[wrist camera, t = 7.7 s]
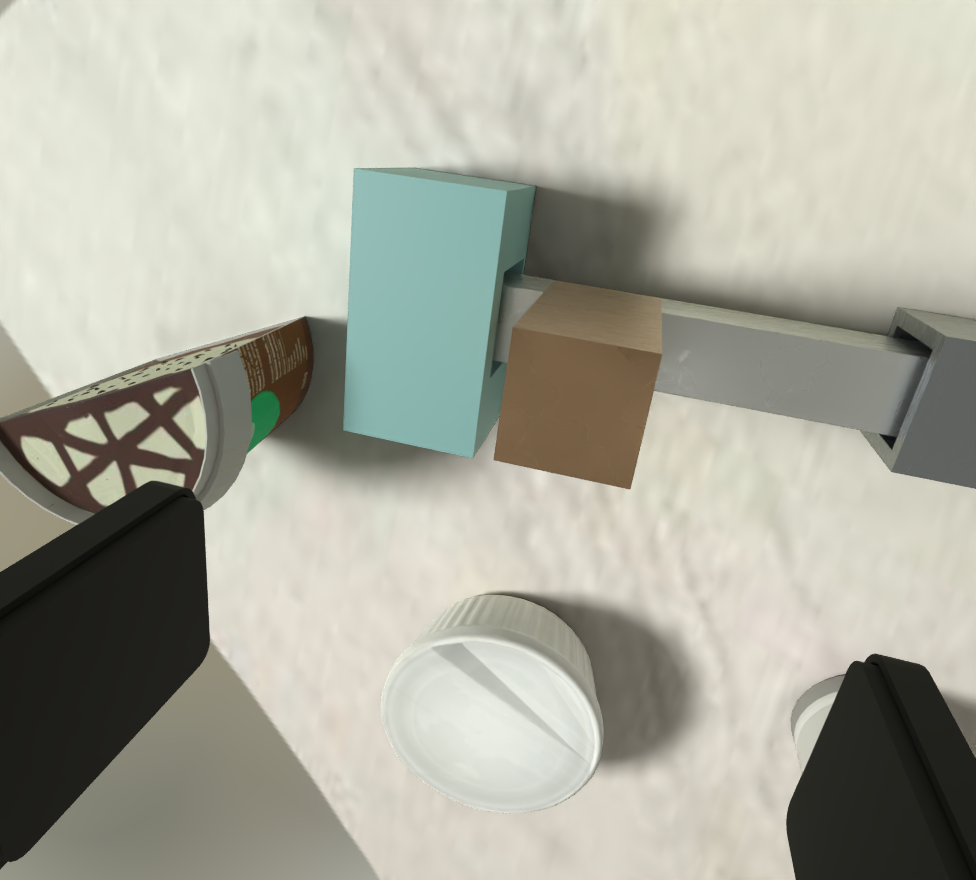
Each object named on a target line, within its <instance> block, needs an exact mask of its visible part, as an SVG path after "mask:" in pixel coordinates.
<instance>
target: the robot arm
mask: <svg viewBox="0 0 976 880" xmlns="http://www.w3.org/2000/svg"><path fill="white" fill-rule="evenodd" d="M209 645H210V632H209V612H208V591H207V571H206V550H205V530H204V511H203V506H202V504H201V502H199V501H198V500H196V497H195V495H194V493H193V491H192V490H190V489H189V488H185V487H181V486H177V485H173V484H169V483H165V482H161V481H149V482H147V483H145V484H143V485H142V486H140V487H138V488H137V489H135V490H133V491H132V492H130V493H129V494H127V495H125V496H124V497H122V498H120V499H119V500H117V501H115V502H114V503H112V504H111V505H109V506H107V507H106V508H104V509H102V510H101V511H99V512H98V513H96V514H94V515H93V516H91V517H89V518H88V519H86V520H85V521H83V522H81V523H80V524H78V525H76V526H75V527H73V528H72V529H70V530H68V531H67V532H65V533H63V534H62V535H60V536H59V537H57V538H55V539H54V540H52V541H50V542H49V543H47V544H46V545H44V546H42V547H41V548H39V549H37V550H36V551H34V552H33V553H31V554H29V555H28V556H26V557H24V558H23V559H21V560H19V561H18V562H16V563H15V564H13V565H11V566H10V567H8V568H6V569H5V570H3V571H1V572H0V869H1V868H2V867H3V866H4V865H5V864H6V863H7V862H8V861H9V862H12V861H16V860H18V859H19V858H21V857H23V856H24V855H25V854H26V853H27V852H28V851H29V850H30V849H31V848H32V847H33V846H34V845H35V844H36V843H37V842H38V840H40V838H41V837H42V836H43V835H44V834H45V833H46V832H47V831H48V830H49V829H50V828H51V826H52V825H53V824H54V823H55V822H56V821H57V820H58V819H59V818H60V817H61V816H62V815H63V814H64V812H65V811H66V810H67V809H68V808H69V807H70V806H71V805H72V804H73V803H74V802H75V801H76V799H77V798H78V797H79V796H80V795H81V794H82V793H83V792H84V791H85V790H86V788H87V787H88V786H89V785H90V784H91V783H92V782H93V781H94V780H95V779H96V778H97V777H98V776H99V774H100V773H101V772H102V771H103V770H104V769H105V768H106V767H107V766H108V765H109V764H110V762H111V761H112V760H113V759H114V758H115V757H116V756H117V755H118V754H119V753H120V752H121V751H122V749H123V748H124V747H125V746H126V745H127V744H128V743H129V742H130V741H131V740H132V739H133V738H134V737H135V735H136V734H137V733H138V732H139V731H140V730H141V729H142V728H143V727H144V726H145V725H146V724H147V722H148V721H149V720H150V719H151V718H152V717H153V716H154V715H155V714H156V713H157V712H158V710H159V709H160V708H161V707H162V706H163V705H164V704H165V703H166V702H167V701H168V699H169V698H170V697H171V696H172V695H173V694H174V693H175V692H176V691H177V690H178V689H179V688H180V687H181V686H182V684H183V683H184V682H185V681H186V680H187V679H188V678H189V677H190V676H191V675H192V674H193V673H194V671H195V670H196V669H197V668H198V667H199V666H200V665H201V663H202V662H203V660H204V658H205V657H206V654H207V652H208V649H209ZM786 825H787V836H788V841H789V847H790V852H791V857H792V862H793V867H794V873H795V878H796V880H976V758H975V757H974V755H973V753H972V751H971V749H970V747H969V745H968V744H967V742H966V740H965V738H964V736H963V734H962V732H961V731H960V729H959V727H958V725H957V723H956V721H955V719H954V717H953V716H952V714H951V712H950V710H949V708H948V706H947V704H946V703H945V701H944V699H943V697H942V695H941V693H940V691H939V690H938V688H937V686H936V684H935V682H934V680H933V678H932V676H931V675H930V673H929V671H928V670H927V669H926V668H925V667H924V666H922V665H920V664H916V663H912V662H908V661H904V660H900V659H896V658H891V657H887V656H883V655H879V654H872V655H870V656H869V657H868V658H867V659H866V661H865V662H860V661H854V662H853V663H852V664H851V665H850V666H849V668H848V670H847V672H846V675H845V677H844V679H843V681H842V684H841V686H840V688H839V691H838V693H837V695H836V698H835V700H834V702H833V704H832V707H831V709H830V711H829V714H828V716H827V718H826V721H825V723H824V725H823V727H822V730H821V732H820V734H819V737H818V739H817V741H816V744H815V746H814V748H813V750H812V753H811V755H810V757H809V760H808V762H807V764H806V766H805V769H804V771H803V773H802V776H801V778H800V780H799V783H798V785H797V787H796V789H795V792H794V794H793V796H792V799H791V801H790V804H789V807H788V812H787V821H786Z"/></svg>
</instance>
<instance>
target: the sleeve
mask: <svg viewBox="0 0 976 880" xmlns="http://www.w3.org/2000/svg"><path fill="white" fill-rule="evenodd" d="M887 336H890V337H896V338H902V339H908V340H914V341H920V342H923V343H924V344H925V345H927V346H928V347H930V348H931V349H933V350H932V353H931V355H930V358H929V360H928V363H927V365H926V368H925V370H924V372H923V375H922V377H921V380H920V382H919V385H918V387H917V390H916V392H915V395H914V397H913V400H912V402H911V405H910V407H909V410H908V412H907V414H906V417H905V419H904V422H903V424H902V427H901V429H900V432H899V434H898V437H894V436H889V435H884V434H878V433H873V432H868V431H863V430H860V431H861V433H862V434H863V435H864V437H865V438H866V439H867V441H868V442H869V443H870V444H871V446H872V447H873V448H874V450H875V451H876V452H877V454H878V455H879V456H880V458H881V459H882V460H883V462H884V463H885V464H886V466H887V467H888V468H889V470H890V471H891V472H895V473H900V474H905V475H910V476H915V477H920V478H925V479H930V480H935V481H940V482H945V483H950V484H955V485H960V486H965V487H970V488H975V489H976V320H974V319H968V318H962V317H955V316H949V315H943V314H937V313H931V312H924V311H918V310H912V309H906V308H900V307H898V308H897V311H896V314H895V316H894V319H893V322H892V324H891V327H890V330H889V333H888V335H887Z"/></svg>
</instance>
